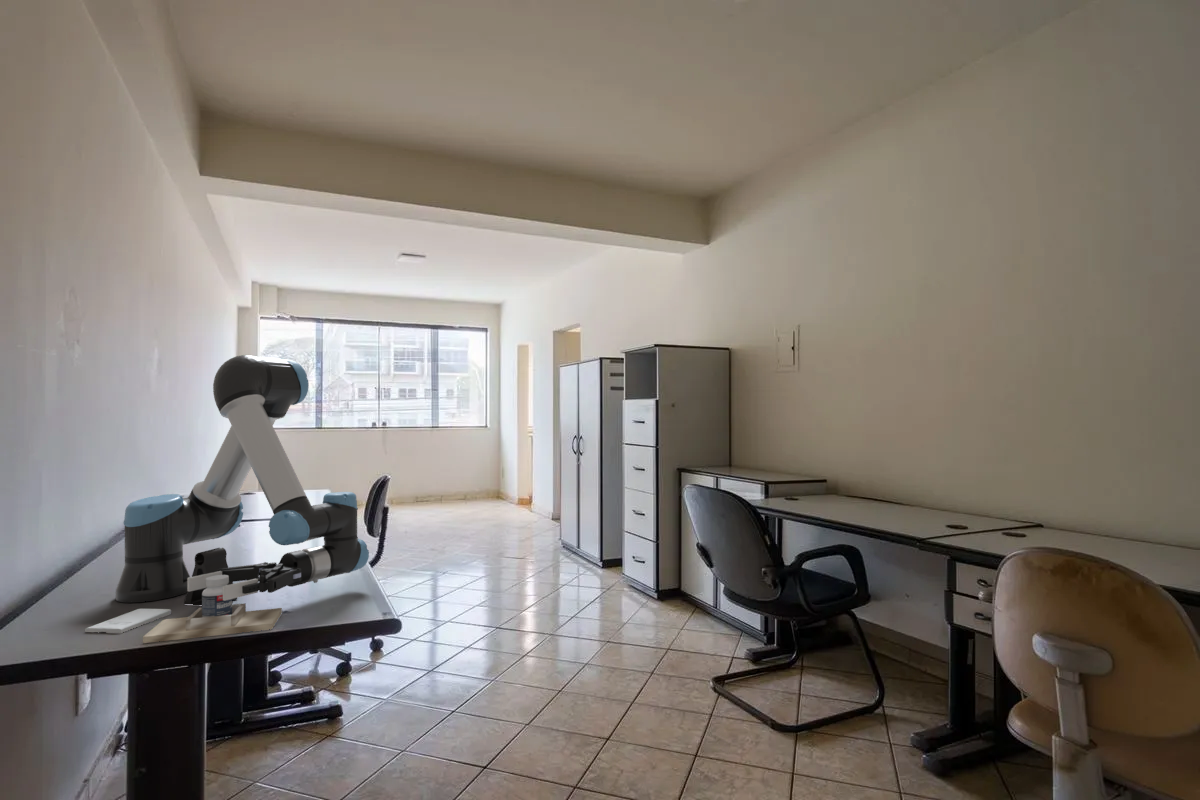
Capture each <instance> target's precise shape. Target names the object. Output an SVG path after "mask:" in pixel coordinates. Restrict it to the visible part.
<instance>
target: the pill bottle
mask: <svg viewBox="0 0 1200 800" xmlns="http://www.w3.org/2000/svg"><path fill="white" fill-rule="evenodd" d="M228 583H229V576H228V575H216V576H211V577H208V578H206V586H207V588H206V589H205V590H204V591H203V592H202V606H201V608H202V617H212V616H222V615H232V605H233V601H232V599H230V600H226V601H224V600H223V586H226V585H227V584H228Z"/></svg>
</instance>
